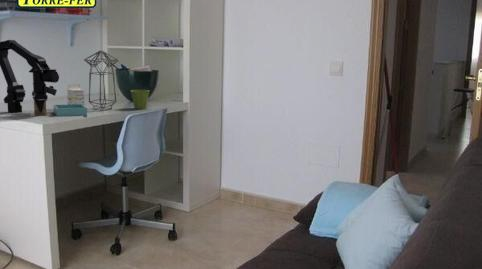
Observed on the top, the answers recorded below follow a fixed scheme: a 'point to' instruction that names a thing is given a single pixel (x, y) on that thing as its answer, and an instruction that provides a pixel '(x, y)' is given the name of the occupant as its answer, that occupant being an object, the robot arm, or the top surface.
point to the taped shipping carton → (36, 110)
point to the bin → (70, 110)
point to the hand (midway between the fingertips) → (40, 111)
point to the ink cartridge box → (75, 94)
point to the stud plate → (40, 115)
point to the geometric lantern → (100, 76)
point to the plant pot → (140, 98)
